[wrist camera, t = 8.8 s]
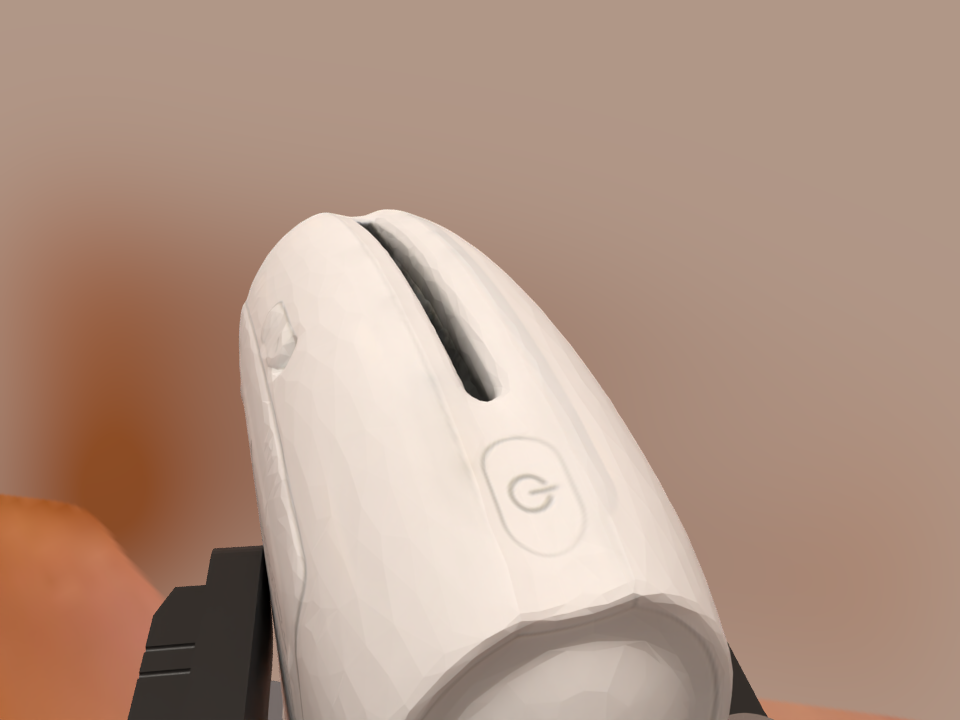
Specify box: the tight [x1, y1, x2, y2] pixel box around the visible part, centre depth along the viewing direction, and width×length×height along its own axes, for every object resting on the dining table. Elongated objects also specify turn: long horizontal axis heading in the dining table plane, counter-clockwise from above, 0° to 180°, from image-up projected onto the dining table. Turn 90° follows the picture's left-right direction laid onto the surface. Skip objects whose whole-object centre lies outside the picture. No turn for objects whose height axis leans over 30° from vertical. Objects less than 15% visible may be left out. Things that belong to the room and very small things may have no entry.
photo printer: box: [239, 210, 733, 720], centre depth 13 cm, size 10×4×12 cm, turn 19°
